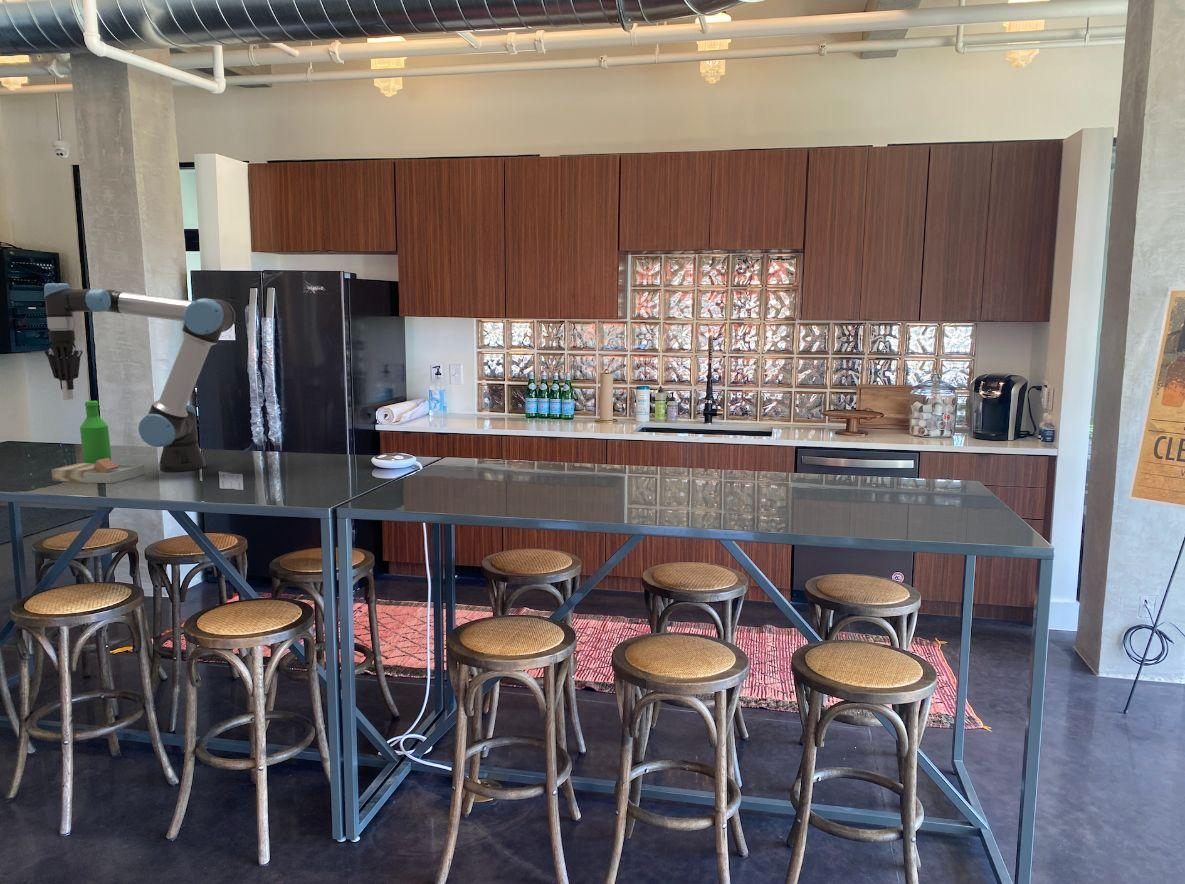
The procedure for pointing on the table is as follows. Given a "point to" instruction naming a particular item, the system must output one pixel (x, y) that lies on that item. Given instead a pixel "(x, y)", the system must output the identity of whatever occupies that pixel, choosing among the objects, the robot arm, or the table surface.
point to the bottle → (94, 435)
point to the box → (114, 474)
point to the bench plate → (72, 472)
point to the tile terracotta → (104, 465)
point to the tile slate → (116, 470)
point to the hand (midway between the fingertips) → (68, 399)
